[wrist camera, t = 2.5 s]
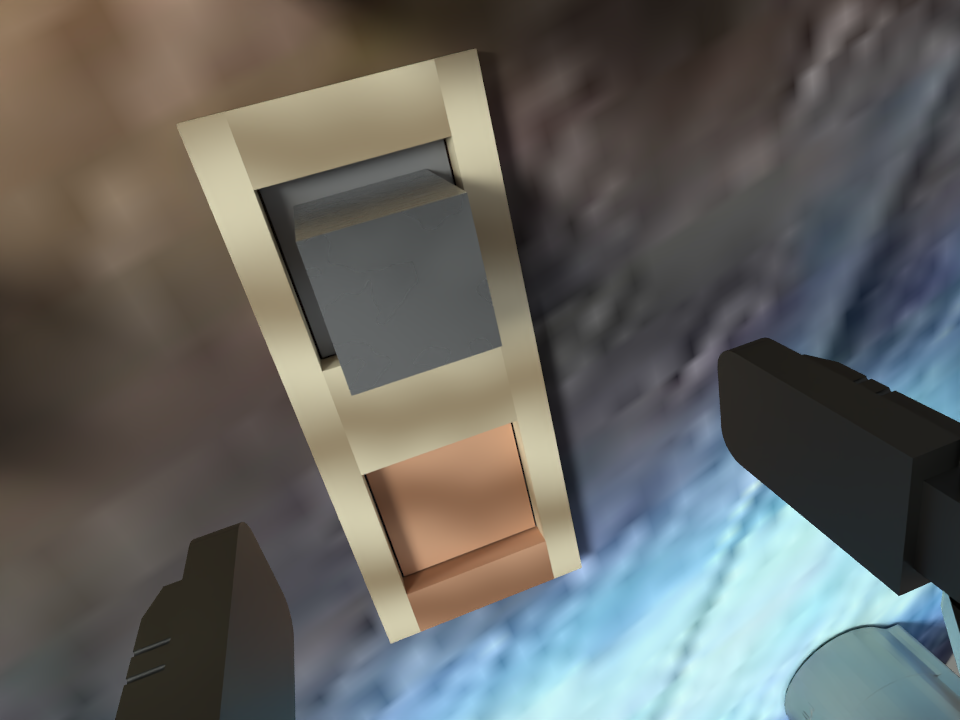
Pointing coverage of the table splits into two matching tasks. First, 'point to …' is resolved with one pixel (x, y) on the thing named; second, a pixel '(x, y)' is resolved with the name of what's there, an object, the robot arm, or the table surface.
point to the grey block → (397, 277)
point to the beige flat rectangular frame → (420, 398)
